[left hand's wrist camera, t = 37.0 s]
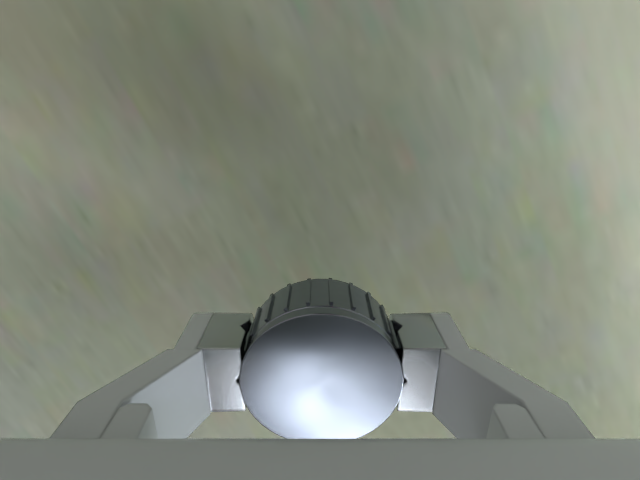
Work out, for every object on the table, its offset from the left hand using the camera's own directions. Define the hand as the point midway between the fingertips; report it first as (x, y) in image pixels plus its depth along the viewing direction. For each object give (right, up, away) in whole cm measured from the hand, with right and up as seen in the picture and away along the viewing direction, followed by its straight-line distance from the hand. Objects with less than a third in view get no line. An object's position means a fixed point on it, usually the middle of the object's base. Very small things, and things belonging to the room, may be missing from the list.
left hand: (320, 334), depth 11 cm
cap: (0, -1, -1) cm, 2 cm away
